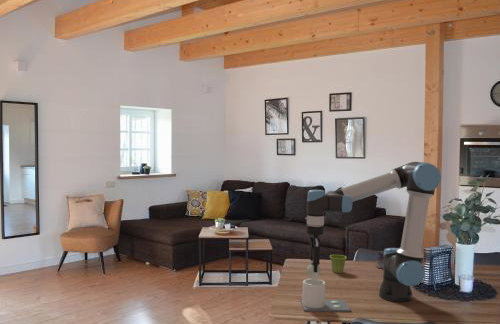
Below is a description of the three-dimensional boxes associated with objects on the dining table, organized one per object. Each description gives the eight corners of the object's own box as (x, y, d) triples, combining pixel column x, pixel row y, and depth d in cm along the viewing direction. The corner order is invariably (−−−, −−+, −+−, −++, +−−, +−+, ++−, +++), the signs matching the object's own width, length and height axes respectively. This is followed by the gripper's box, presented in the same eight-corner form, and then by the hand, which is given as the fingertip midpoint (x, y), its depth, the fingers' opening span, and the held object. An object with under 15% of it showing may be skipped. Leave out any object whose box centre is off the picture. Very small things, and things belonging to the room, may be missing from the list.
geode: (389, 271, 265) (387, 254, 266) (372, 270, 274) (370, 253, 275) (409, 265, 278) (407, 248, 278) (392, 263, 287) (390, 247, 287)
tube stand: (344, 301, 213) (344, 278, 213) (350, 311, 200) (351, 286, 200) (300, 300, 213) (300, 277, 212) (304, 311, 200) (304, 286, 199)
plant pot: (348, 271, 264) (349, 256, 264) (342, 275, 256) (343, 259, 256) (333, 268, 269) (333, 253, 269) (326, 272, 261) (327, 257, 261)
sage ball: (319, 275, 209) (319, 262, 209) (321, 279, 203) (321, 266, 203) (305, 275, 209) (306, 262, 209) (307, 279, 203) (308, 265, 203)
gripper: (303, 221, 214) (302, 271, 215) (309, 228, 196) (308, 283, 196) (320, 221, 215) (318, 271, 215) (327, 229, 196) (326, 283, 197)
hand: (313, 276), depth 206 cm, fingers closed on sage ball, 6 cm apart
